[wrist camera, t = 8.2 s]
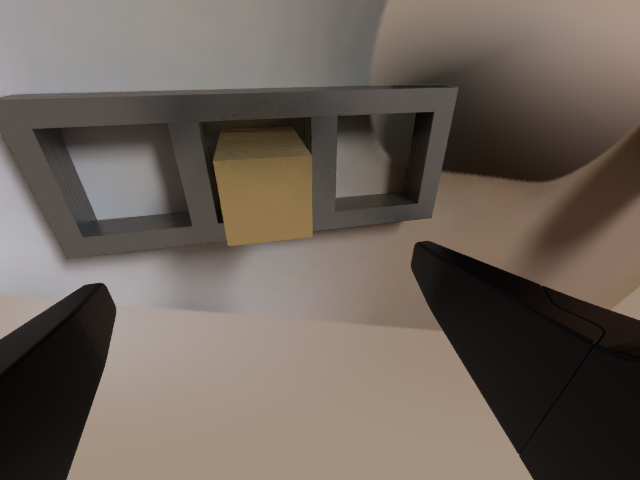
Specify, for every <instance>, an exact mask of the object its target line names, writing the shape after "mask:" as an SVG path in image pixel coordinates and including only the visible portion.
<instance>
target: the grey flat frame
mask: <svg viewBox="0 0 640 480" xmlns="http://www.w3.org/2000/svg"><path fill="white" fill-rule="evenodd" d="M457 92H458V87H454V86H448V85H441V84H423V85H383V86H342V87H302V88H261V89H221V90H181V91H141V92H100V93H60V94H20V95H9V96H4V97H0V131H1V133H2V135H3V137H4V138H5V140H6V142H7V144H8V146H9V148H10V150H11V152H12V154H13V156H14V158H15V160H16V161H17V163H18V165H19V167H20V169H21V171H22V173H23V175H24V177H25V179H26V181H27V183H28V184H29V186H30V188H31V190H32V192H33V194H34V196H35V198H36V200H37V202H38V204H39V206H40V207H41V209H42V211H43V213H44V215H45V217H46V219H47V221H48V223H49V225H50V227H51V229H52V230H53V232H54V234H55V236H56V238H57V240H58V242H59V244H60V246H61V248H62V250H63V252H64V253H65V255H66V257H67V259H69V258H78V257H87V256H95V255H104V254H113V253H122V252H131V251H140V250H149V249H158V248H167V247H176V246H185V245H194V244H203V243H212V242H221V241H227V238H226V232H225V226H224V221H223V215H222V209H220V207H219V202H218V197H217V191H216V186H215V181H214V176H213V170H212V165H211V160H210V154H209V149H208V144H207V139H206V133H205V128H204V123H203V122H205V121H228V120H252V119H275V118H299V117H305V144H306V148H307V149H308V150H309V152H310V153H311V155H312V218H313V231H319V230H328V229H337V228H346V227H355V226H364V225H373V224H382V223H391V222H400V221H409V220H418V219H427V218H432V213H433V208H434V203H435V198H436V194H437V189H438V184H439V179H440V174H441V170H442V164H443V160H444V155H445V150H446V145H447V140H448V136H449V131H450V126H451V121H452V117H453V112H454V107H455V102H456V97H457ZM390 113H391V114H392V113H416V118H415V125H414V132H413V139H412V145H411V152H410V158H409V165H408V172H407V178H406V185H405V192H398V193H387V194H377V195H366V196H355V197H344V198H335V196H336V156H337V116H345V115H369V114H390ZM158 123H167V126H168V130H169V134H170V138H171V142H172V146H173V150H174V154H175V158H176V162H177V166H178V170H179V174H180V178H181V182H182V186H183V190H184V194H185V198H186V202H187V206H188V210H189V212H183V213H172V214H162V215H151V216H140V217H129V218H119V219H108V220H97V219H96V217H95V214H94V212H93V210H92V207H91V205H90V203H89V200H88V198H87V196H86V193H85V191H84V189H83V186H82V184H81V181H80V179H79V177H78V174H77V172H76V170H75V167H74V165H73V163H72V160H71V158H70V156H69V153H68V151H67V149H66V146H65V144H64V142H63V139H62V137H61V135H60V132H59V130H58V128H64V127H88V126H111V125H135V124H158Z"/></svg>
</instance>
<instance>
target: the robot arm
mask: <svg viewBox="0 0 640 480" xmlns="http://www.w3.org/2000/svg"><path fill="white" fill-rule="evenodd" d="M411 269H412V272H413V274H414V276H415V278H416V280H417V282H418V284H419V287H420V289H421V291H422V293H423V295H424V297H425V300H426V302H427V304H428V306H429V308H430V310H431V311H432V313H433V315H434V316H435V318H436V320H437V321H438V323H439V325H440V326H441V328H442V330H443V331H444V333H445V335H446V336H447V338H448V339H449V341H450V343H451V344H452V346H453V348H454V349H455V351H456V353H457V354H458V356H459V357H460V359H461V361H462V362H463V364H464V366H465V367H466V369H467V371H468V372H469V374H470V375H471V377H472V379H473V380H474V382H475V384H476V385H477V387H478V389H479V390H480V392H481V394H482V395H483V397H484V398H485V400H486V402H487V404H488V405H489V407H490V408H491V410H492V412H493V413H494V415H495V417H496V418H497V420H498V422H499V423H500V425H501V427H502V428H503V430H504V431H505V433H506V435H507V436H508V438H509V440H510V441H511V443H512V444H513V446H514V448H515V449H516V451H517V453H518V454H519V456H520V458H521V460H522V461H523V463H524V465H525V466H526V468H527V469H528V471H529V473H530V475H531V476H532V478H533V479H534V480H640V320H637V319H634V318H631V317H628V316H625V315H622V314H619V313H616V312H613V311H611V310H608V309H605V308H602V307H599V306H596V305H593V304H590V303H588V302H585V301H582V300H579V299H576V298H574V297H571V296H568V295H566V294H563V293H561V292H558V291H555V290H553V289H550V288H548V287H545V286H542V287H541V285H540V284H537V283H535V282H532V281H530V280H527V279H525V278H522V277H520V276H517V275H514V274H512V273H509V272H507V271H504V270H502V269H499V268H497V267H494V266H491V265H489V264H486V263H484V262H481V261H479V260H476V259H474V258H471V257H469V256H466V255H463V254H461V253H458V252H456V251H453V250H451V249H448V248H446V247H443V246H440V245H438V244H435V243H433V242H430V241H423V242H417V243H416V244H415V246H414V250H413V256H412V261H411ZM115 317H116V306H115V304H114V302H113V299H112V297H111V295H110V293H109V291H108V289H107V287H106V285H105V284H103V283H95V284H87V285H84V286H82V287H81V288H79V289H78V290H76V291H75V292H73V293H72V294H70V295H68V296H67V297H65V298H64V299H62V300H61V301H59V302H58V303H56V304H55V305H53V306H51V307H50V308H49V309H47V310H45V311H44V312H42V313H41V314H39V315H37V316H36V317H34V318H33V319H31V320H30V321H28V322H27V323H25V324H24V325H22V326H21V327H19V328H17V329H16V330H14V331H13V332H11V333H10V334H8V335H7V336H5V337H3V338H2V339H0V480H66V479H67V476H68V473H69V470H70V467H71V464H72V462H73V459H74V456H75V453H76V450H77V447H78V444H79V441H80V438H81V435H82V432H83V429H84V426H85V423H86V421H87V418H88V415H89V412H90V409H91V406H92V403H93V400H94V397H95V394H96V391H97V388H98V385H99V382H100V379H101V377H102V373H103V370H104V367H105V363H106V359H107V355H108V350H109V345H110V341H111V336H112V331H113V326H114V322H115Z"/></svg>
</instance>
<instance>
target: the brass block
mask: <svg viewBox="0 0 640 480" xmlns="http://www.w3.org/2000/svg"><path fill="white" fill-rule="evenodd" d="M213 164H214V170H215V175H216V181H217V187H218V192H219V198H220V204H221V209H222V215H223V221H224V226H225V232H226V238H227V243H228V246H236V245H245V244H254V243H263V242H273V241H282V240H291V239H300V238H310V237H313V218H312V155H311V153H310V152H309V150H308V149H307V148H306V146H305V145H304V143H303V142H302V140H301V139H300V137H299V136H298V135H297V133H296V132H295V130H294V129H293V127H270V128H245V129H221V131H220V135H219V139H218V143H217V147H216V151H215V155H214V159H213Z"/></svg>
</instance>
